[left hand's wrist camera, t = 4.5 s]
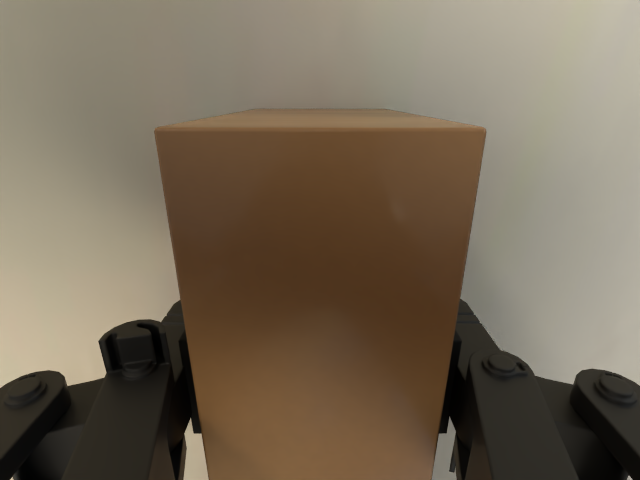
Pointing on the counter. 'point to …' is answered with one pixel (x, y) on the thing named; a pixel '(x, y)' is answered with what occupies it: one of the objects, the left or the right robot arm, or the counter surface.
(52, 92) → the counter surface
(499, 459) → the left robot arm
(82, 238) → the counter surface
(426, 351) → the post
